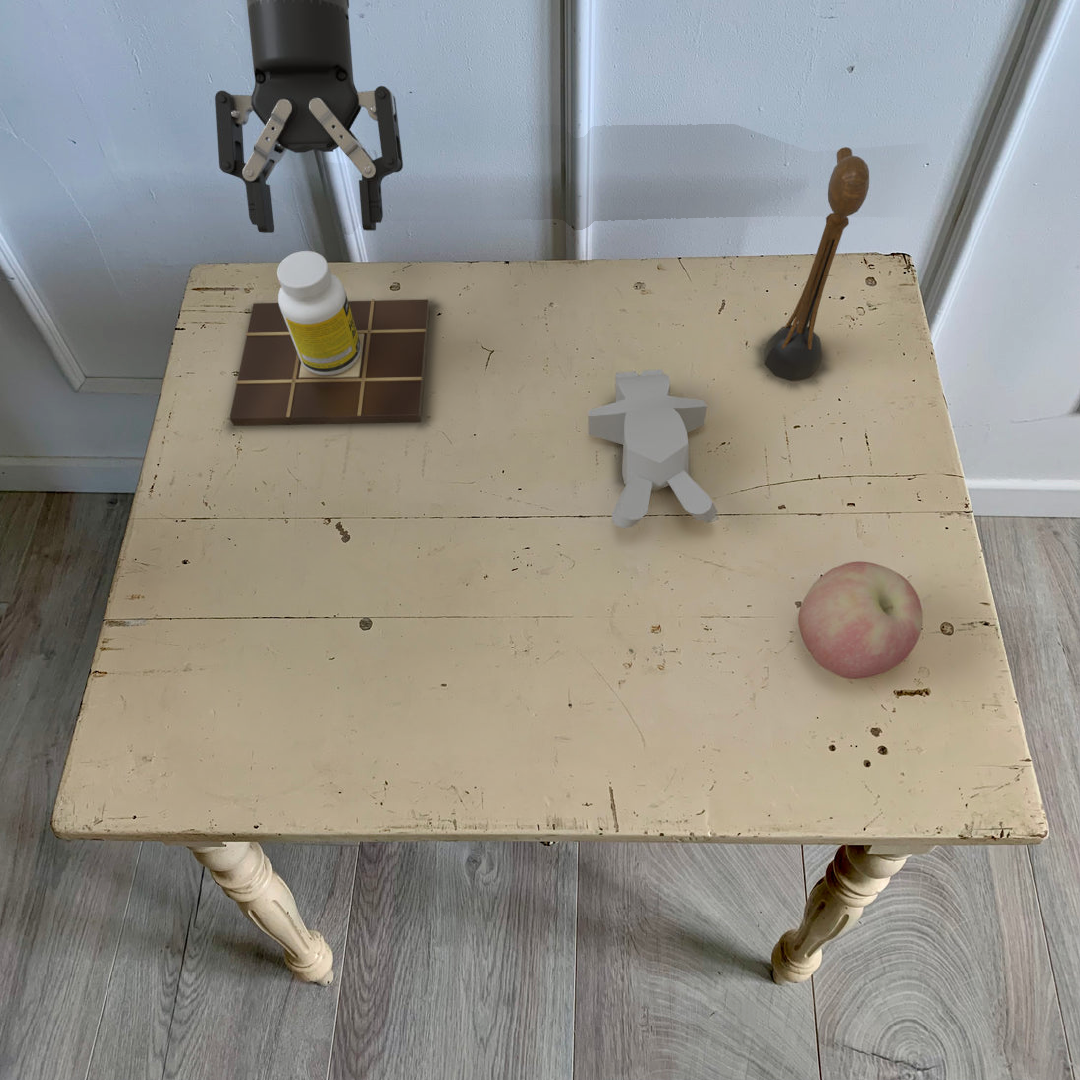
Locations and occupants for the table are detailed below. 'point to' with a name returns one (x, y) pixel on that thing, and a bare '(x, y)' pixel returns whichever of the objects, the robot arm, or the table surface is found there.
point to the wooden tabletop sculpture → (818, 275)
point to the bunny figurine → (651, 444)
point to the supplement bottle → (317, 314)
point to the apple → (860, 620)
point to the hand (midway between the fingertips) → (318, 231)
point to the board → (348, 397)
